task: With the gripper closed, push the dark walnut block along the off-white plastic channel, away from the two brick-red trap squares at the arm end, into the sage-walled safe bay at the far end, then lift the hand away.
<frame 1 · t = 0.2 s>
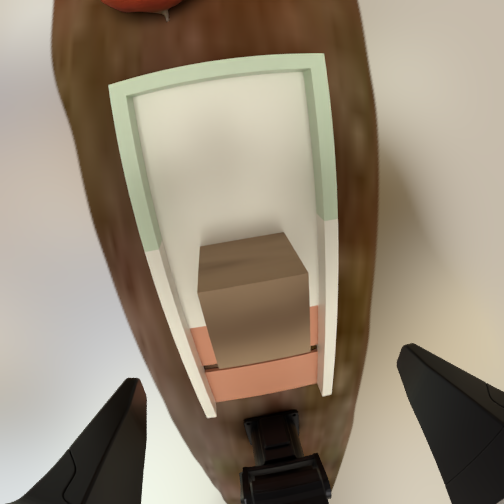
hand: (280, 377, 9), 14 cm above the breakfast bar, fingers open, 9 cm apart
trap channel: (248, 281, 24), on the breakfast bar
walnut block: (247, 275, 23), point 1 cm above the breakfast bar, touching trap channel
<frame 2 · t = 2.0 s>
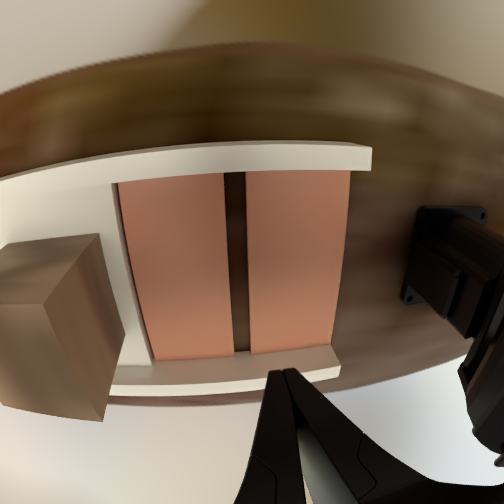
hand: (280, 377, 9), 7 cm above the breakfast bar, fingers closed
trap channel: (83, 282, 15), on the breakfast bar
walnut block: (63, 290, 14), point 1 cm above the breakfast bar, touching trap channel
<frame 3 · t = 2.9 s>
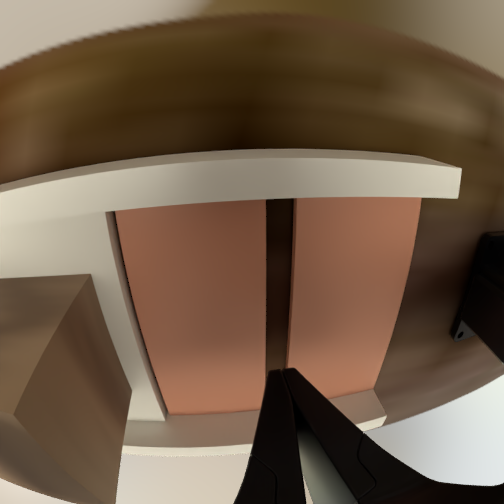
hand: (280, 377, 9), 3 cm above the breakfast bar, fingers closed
trap channel: (75, 329, 11), on the breakfast bar
walnut block: (51, 340, 10), point 1 cm above the breakfast bar, touching trap channel
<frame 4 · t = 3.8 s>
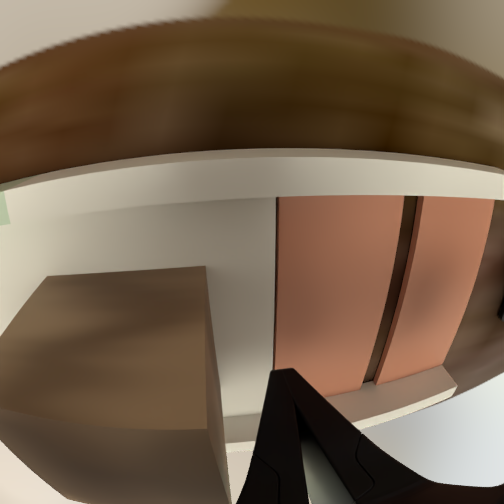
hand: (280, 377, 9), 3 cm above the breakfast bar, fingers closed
trap channel: (194, 324, 12), on the breakfast bar
walnut block: (136, 340, 11), point 1 cm above the breakfast bar, touching gripper, trap channel
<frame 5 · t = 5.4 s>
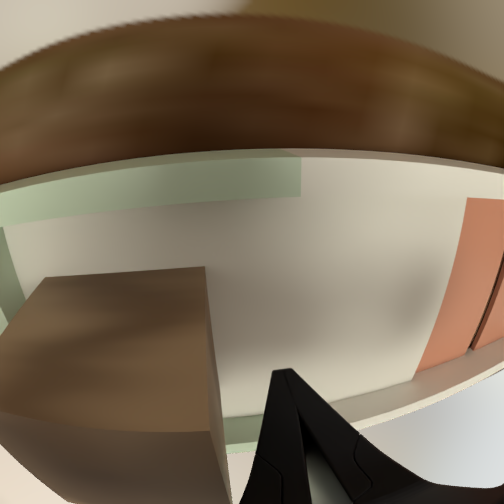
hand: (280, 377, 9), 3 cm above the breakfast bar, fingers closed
trap channel: (385, 302, 13), on the breakfast bar
walnut block: (135, 341, 11), point 1 cm above the breakfast bar, touching gripper, trap channel
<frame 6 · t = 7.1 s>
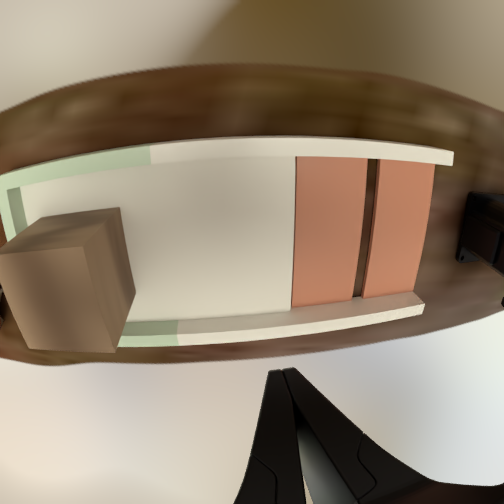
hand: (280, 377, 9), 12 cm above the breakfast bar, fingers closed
trap channel: (245, 238, 20), on the breakfast bar
walnut block: (86, 255, 18), point 1 cm above the breakfast bar, touching trap channel
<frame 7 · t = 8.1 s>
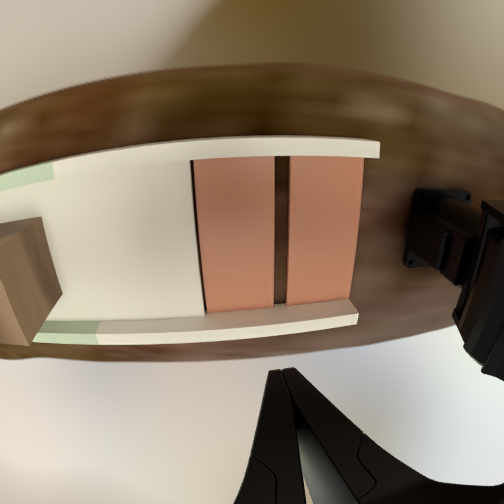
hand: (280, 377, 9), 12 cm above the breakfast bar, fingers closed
trap channel: (152, 243, 19), on the breakfast bar
walnut block: (21, 259, 17), point 1 cm above the breakfast bar, touching trap channel
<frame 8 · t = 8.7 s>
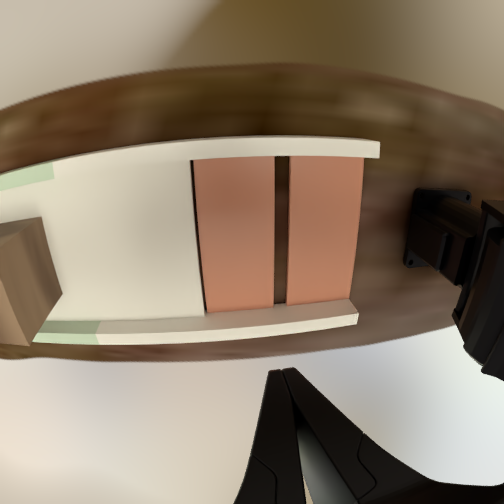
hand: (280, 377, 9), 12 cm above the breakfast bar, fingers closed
trap channel: (152, 243, 19), on the breakfast bar
walnut block: (21, 259, 17), point 1 cm above the breakfast bar, touching trap channel
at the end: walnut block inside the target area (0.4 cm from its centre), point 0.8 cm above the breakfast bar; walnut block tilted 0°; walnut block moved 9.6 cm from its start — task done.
